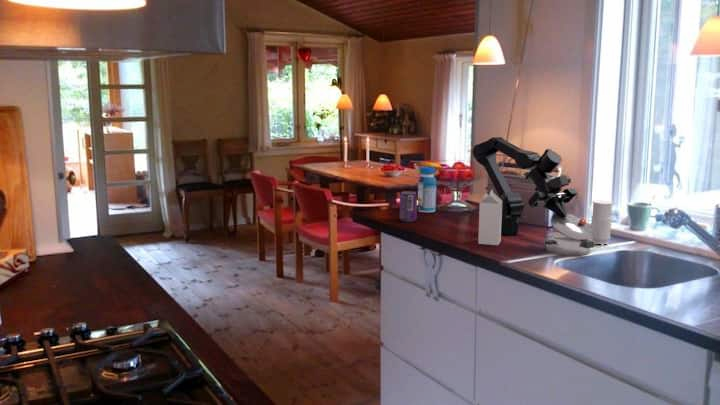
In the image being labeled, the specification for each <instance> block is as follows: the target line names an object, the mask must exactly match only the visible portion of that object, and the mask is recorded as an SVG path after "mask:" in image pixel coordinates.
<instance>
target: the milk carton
mask: <svg viewBox="0 0 720 405" xmlns="http://www.w3.org/2000/svg"><path fill="white" fill-rule="evenodd" d="M481 198H482V200H481V201H479V208H478V209H479V214H478V215H479V217H478V240H477V242H478V243H477V244H479V245H487V246H488V245H490V246H499V244H500V243H501V242H502V241H501V239H502V235H501V222H502V200H501V199H500V198H499V195H498V194H496V193H494V189H491V190H490V192H489V194H488V193H485V194H483V195H482V196H481Z"/></svg>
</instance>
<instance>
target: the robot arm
mask: <svg viewBox="0 0 720 405" xmlns="http://www.w3.org/2000/svg"><path fill="white" fill-rule="evenodd" d="M498 152H501V154H504V155H505V156H508V157H509V158H511V159H512V160H514V162H515V165H517V166H518V168H520V169H522V170H529V169H530V170H529V171H527V172H526V175H525V176H524V180H531V181H532V184H534V186H535V189H534V193H533V194H532V196H530V198H529V199H528V205H529V206H530V208H537V207H538V202H539V203H541V202H543V203H544V205H543V206H542V207H543V208H544V209H547V210H549V211H550V212H553V213H554V214H558V215H559V216H561V217H563V218H566V217H567V214H568V213H567V211H566V206H565V204H569V203H570V202H571V201H572V200H573V199H574V198H576V196H577V195H578V192H577V190H576V188H573V187H572V188H564V187H565V186H569V185H570V183H571V182H572V181H571V180H572V179H571V177H570V176H569V175H568V174H563V175H560V176H555V177H554V178H551V177H550V175H549V174H552V173H553V172H554V171H555V170H556V169H557V168H558V166H559V165H560V164H561V163H562V162H563V158H562V156H561V155H560V154H559V153H557V152H556V151H554V150H552V148H546V149H545V151H544V152H543V153H542V155H540V154H539V153H538V152H535V151H531V150H525V149H523V148H520V147H518V146H516V145H515V144H513V143H511V142H509V141H508V140H506V139H504V138H503V137H500V136H498V137H497V136H496V137H494V136H493V137H491V138H489V139H488V140H486V141H483V142H481V143H479V144H475V145H474V146H473V148H472V155H473V157H474V158H473V159H475V160H476V162H477V163H478V164H480V165H481V166H483V167H484V170H485V171H486V173H487V175H488V177H489V179H490V181H491V184H493V187H494V188H495V191H496V192H497V196H498V197H499V198H500V199H501V200H502V222H501V236H514V237H515V236H516V237H517V234H518V233H519V222H518V220H517V219H521V218H522V215H523V211H524V209H525V204H524V199H523V198H522V197H521V194H520V192H513V191H512V189H511V187H510V186H509V183H508V181H507V180H506V178H505V176H504V174H503V172H502V171H501V169H500V166H499V165H498V163H497V153H498ZM563 188H564V190H563ZM561 191H562V192H561ZM566 213H567V214H566Z"/></svg>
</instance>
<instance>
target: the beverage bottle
mask: <svg viewBox="0 0 720 405" xmlns="http://www.w3.org/2000/svg"><path fill="white" fill-rule="evenodd" d="M419 174H420V177H419V178H418V181H417V183H418V186H417V212H420V213H434V212H436V204H437V203H436V202H437V188H438V187H437V180H436V177H435V176H434V175H435V174H436V167H435V166H429V165H428V166H425V165H424V166H420V168H419Z"/></svg>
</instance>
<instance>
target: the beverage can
mask: <svg viewBox="0 0 720 405" xmlns="http://www.w3.org/2000/svg"><path fill="white" fill-rule="evenodd" d="M417 212H418V195H417V192H416V191H413V190H411V191H407V190H406V191H401V193H400V196H399V219H400V221H402V222H405V223H410V222H411V223H412V222H414V221H416V220H417V219H418V218H417V216H418V215H417V214H418V213H417Z"/></svg>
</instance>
